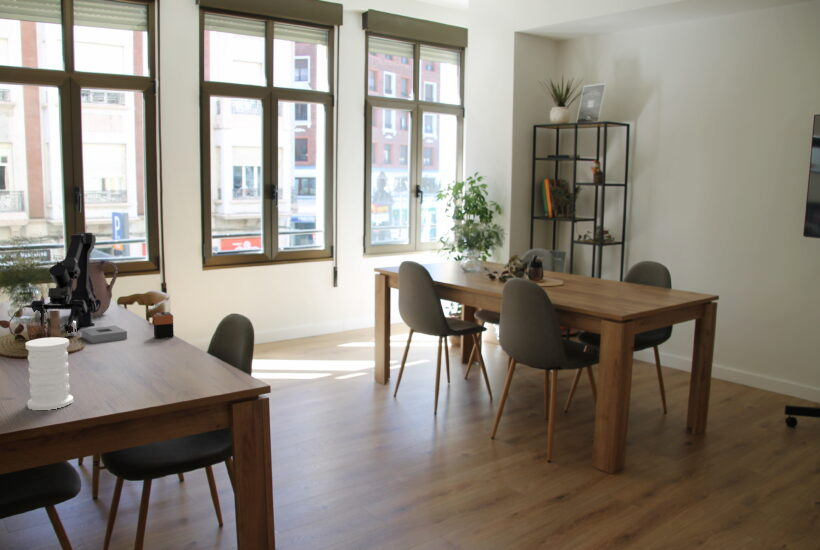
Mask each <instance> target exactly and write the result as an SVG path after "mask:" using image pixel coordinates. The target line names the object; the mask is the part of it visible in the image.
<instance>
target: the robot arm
mask: <svg viewBox="0 0 820 550" xmlns="http://www.w3.org/2000/svg"><path fill="white" fill-rule="evenodd" d="M96 242H97V238H96V235H95V234H93V232H75V233H73V234H70V242H69V245H68V247H67V248H68V249H67V251H66V255H65V258H64V259H63V260H61V261H59V262H58V261H57V262H56V264H54V265H52V266H51V267H50V268H49V275H50V277H51V278H52V281H53V282H54V284H56V285H55V287H49V288H48V294H47V297H48V298H49V301H50V303H45V301H44V300H37V299H36V300H34V299H33V300H32V301H31V303H30V307H31V309H32V311H33V313H34V312H35V311H36V310H38V311H40V313H41V317H39V320H40V321H39V322H40V326H41V327H42V326H44V325H45V322H44V313H45V311H44V310H45V309H46V313H47V310H57V311H61V310H70V313H69V316H68V320H67V321H68V324H67V323H66V326H67V325H68V326H70V325H71V324H72V323H73V321H76V327H78V328H83V327H89V326H91V327H92V326H95V325H96V324H95V323H94V322H93V320H92V319H93V318H92V317H93V316H92V315H91V312H93V311H96V304H95V301H94V299H93V297H92V293H91V291H90V289H89V260H90V257H91V256H90V255H91V253H92V251H93V250H94V249H95V244H96ZM72 279H77V286H76V288H75V290H73V291H72V289H73V281H72ZM71 292H72V297H70V296H71ZM69 301H70V304H69ZM90 307H91V308H90ZM43 324H44V325H43ZM79 326H81V327H79Z"/></svg>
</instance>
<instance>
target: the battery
mask: <svg viewBox="0 0 820 550" xmlns="http://www.w3.org/2000/svg"><path fill="white" fill-rule="evenodd" d="M174 334H175V332H174V315H173V314H172V313H171V312H170V311H164V313H161V312H156V314H153V336H154V338H155V339H157V340H158V339H159V340H160V339H169V338H174V336H175V335H174Z"/></svg>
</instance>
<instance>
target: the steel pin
mask: <svg viewBox="0 0 820 550" xmlns="http://www.w3.org/2000/svg"><path fill="white" fill-rule="evenodd" d="M76 323H77V320H74V321H73V323H72V324H71V326H72V327H73V332H71V333H68V332H67V337H68V336H76V335H77V334H78V333H77V332H78V331H77V326H76ZM67 324H68V320H67V321H66V325H67ZM75 329H76V332H75ZM76 337H77V336H76Z"/></svg>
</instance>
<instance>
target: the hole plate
mask: <svg viewBox="0 0 820 550" xmlns="http://www.w3.org/2000/svg"><path fill="white" fill-rule="evenodd" d="M81 338H83V339H84V340H86V341H87V342H89V343H91V344H99V343H105V342H112V341H114V342H115V341H120V340H127V339H128V331H127V330H125V329H123V328H121V327H120V326H117V325H107V326H101V327H92V328H91V327H90V328H83V329H81Z"/></svg>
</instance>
